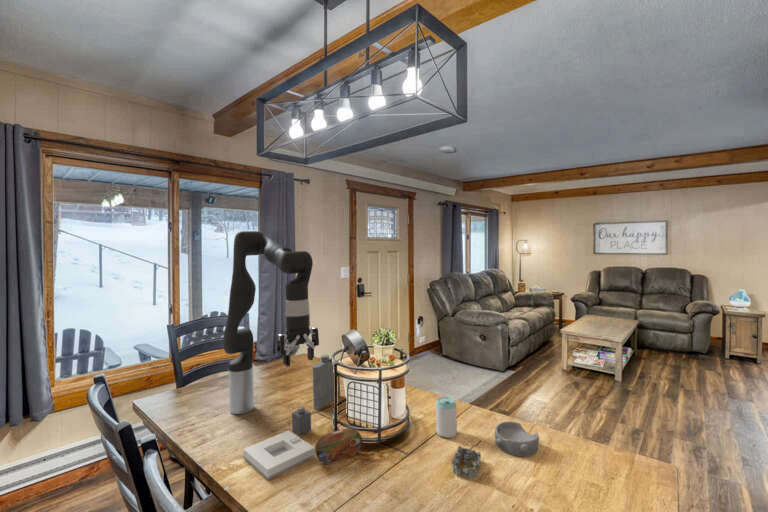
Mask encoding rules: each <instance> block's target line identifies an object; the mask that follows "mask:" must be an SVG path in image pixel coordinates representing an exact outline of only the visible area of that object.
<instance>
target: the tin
mask: <svg viewBox="0 0 768 512" xmlns="http://www.w3.org/2000/svg"><path fill="white" fill-rule="evenodd" d="M362 443H363V439H362V435H361V433H360V432H359V431H358V430H356V429H354V428H352V427H347V428H342V429H340V430H336V431H333V432H332V431H331V432H328V433H326V434H323V435H322V436H320V437H319V438H318V440H317V442H316V443H315V446H314V450H315V457H316V458H317V459H318V461H319V463H321V464H324V465H330V464H332V463H336V462H339V461H342V460H345V459H348V458H349V459H350V458H352V457H354V456H355V455H356V454H357V453H358V452H359V451H360V450H361V447H362Z"/></svg>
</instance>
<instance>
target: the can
mask: <svg viewBox="0 0 768 512" xmlns="http://www.w3.org/2000/svg"><path fill="white" fill-rule="evenodd" d="M457 412H458V411H457V403H456V402H455V399H454V398H452V397H450V396H449V397H448V396H442V397H439V398H438V399H437V402H436V403H435V415H436V416H435V418H436V419H435V420H436V423H435V425H436V433H437V435H438V436H440V437H441V436H442V438H445V439H450V438H451V439H452V438H453V437H455V436H457V434H458V427H457V426H458V424H457V423H458V421H457V419H458V417H457V415H458V414H457Z"/></svg>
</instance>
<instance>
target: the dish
mask: <svg viewBox="0 0 768 512" xmlns="http://www.w3.org/2000/svg"><path fill="white" fill-rule="evenodd" d="M539 443H540V438H539V433H538V432H534V434H532V435H531V434H529V433H528V432H527V431H526V430H525V428H524V427H523V426H522V424H521V422H516V421H503V422H500V423H498V424H497V425H496V427H495V429H494V444H495V445H496V446H497V447H498V448H499V449H500V450H501V451H502V452H505V453H507V454H509V455H512V456H517V457H529V456H532V455H534V454H536V453H537V451H538V449H539V445H540V444H539Z"/></svg>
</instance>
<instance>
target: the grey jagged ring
mask: <svg viewBox="0 0 768 512" xmlns="http://www.w3.org/2000/svg"><path fill="white" fill-rule="evenodd" d="M462 459H463V463H464V466H465V467H467V468H462V467H461V468H460V465H461V464H462ZM481 460H482V453H481V452H480V451H478V452H477V451H476V450H475V449H471V448H467V447H465V448H464V447H463V446H460V445H459V446H458V447H457V450H456V451H455V454H454V455H453V459H452V460H451V466H452V468H453V472H452V473H453V474H455V475H456V476H457V477H459V478H461V477H463V476H465V477H468V479H469V480H473V479H476V478H478V474H479V473H478V471H479V468H480V465H481ZM473 461H475V462H474V463H473Z"/></svg>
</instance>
